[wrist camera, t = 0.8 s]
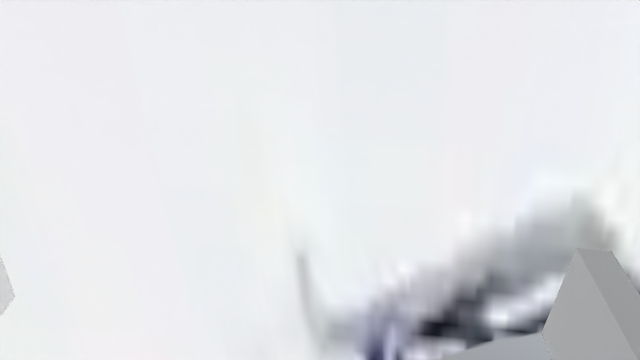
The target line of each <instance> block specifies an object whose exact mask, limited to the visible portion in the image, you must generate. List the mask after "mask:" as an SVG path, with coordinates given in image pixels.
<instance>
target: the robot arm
mask: <svg viewBox="0 0 640 360" xmlns="http://www.w3.org/2000/svg"><path fill="white" fill-rule="evenodd" d="M14 297H15V294H14V292H13V289H12V286H11V283H10V280H9V278H8V275H7V272H6V269H5V266H4V264H3V261H2V258H1V255H0V317H1V315H2V314H3V313H4V311H5V310H6V308H7V307H8V306H9V304H10V303H11V301H12V300H13V298H14ZM541 334H542V336H543V339H544V341H545V344H546V346H547V349H548V352H549V354H550V357H551V359H552V360H640V295H639V294H638V292H637V291H636V289H635V287H634V286H633V284H632V283H631V281H630V279H629V278H628V276H627V275H626V273H625V272H624V270H623V268H622V267H621V265H620V264H619V262H618V260H617V259H616V257H615V256H614V254H613V252H612V251H607V250H593V249H579V248H577V249H576V251H575V253H574V256H573V258H572V261H571V263H570V266H569V268H568V270H567V273H566V275H565V278H564V280H563V283H562V285H561V287H560V290H559V292H558V295H557V297H556V299H555V302H554V304H553V307H552V309H551V312H550V314H549V316H548V319H547V321H546V324H545V326H544V329H543V331H542V333H541Z"/></svg>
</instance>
